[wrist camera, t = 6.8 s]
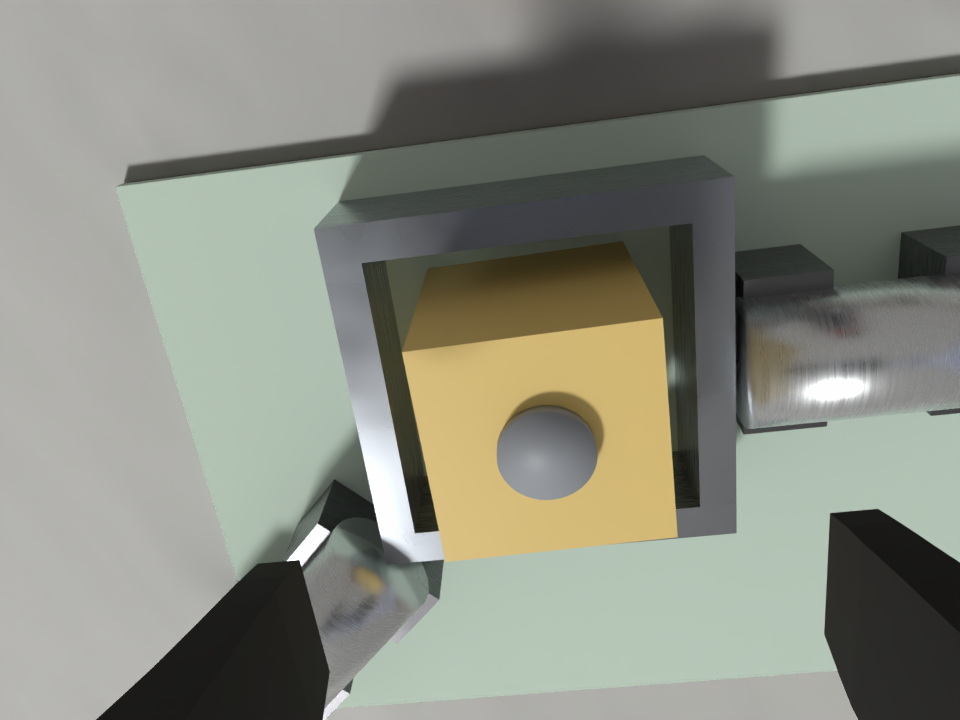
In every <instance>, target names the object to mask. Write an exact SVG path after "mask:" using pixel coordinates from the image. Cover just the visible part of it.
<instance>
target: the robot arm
mask: <svg viewBox="0 0 960 720" xmlns="http://www.w3.org/2000/svg"><path fill="white" fill-rule="evenodd" d="M824 635H825V638H826V641H827V643H828V646H829V649H830V651H831V654H832V657H833V660H834V662H835V665H836V668H837V670H838V673H839V676H840V678H841V681H842V683H843V686H844V688H845V691H846V693H847V696H848V698H849V701H850V703H851V706H852V708H853V710H854V712H855V714H856V716H857V718H858V720H960V562H959V561H957V560H955V559H954V558H952V557H951V556H949V555H948V554H946V553H945V552H943V551H942V550H940V549H939V548H937V547H936V546H934V545H933V544H931V543H930V542H928V541H927V540H926V539H924V538H923V537H921V536H920V535H918V534H917V533H915V532H914V531H912V530H911V529H909V528H907V527H906V526H904V525H903V524H901V523H900V522H898V521H897V520H895V519H894V518H892V517H891V516H889V515H887V514H886V513H884V512H882V511H881V510H879V509H870V510H858V511H847V512H836V513H830V523H829V544H828V565H827V585H826V606H825V627H824ZM329 674H330V671H329V667H328V663H327V660H326V656H325V652H324V648H323V645H322V641H321V637H320V634H319V630H318V626H317V622H316V619H315V615H314V611H313V608H312V604H311V600H310V596H309V593H308V589H307V585H306V582H305V578H304V574H303V571H302V567H301V563H300V560H293V561H282V562H270V563H259V564H257V565H256V566H255V567H253V568H252V569H251V570H250V571H249V572H248V573H247V574H246V575H245V576H244V577H243V578H242V579H241V580H240V581H239V582H238V583H237V584H236V585H235V586H234V587H233V588H232V589H231V590H230V591H229V592H228V593H227V594H226V595H225V596H224V597H223V598H222V599H221V600H220V601H219V602H218V603H217V604H216V605H215V606H214V607H213V608H212V609H211V610H210V611H209V612H208V613H207V614H206V615H205V616H204V617H203V618H202V619H201V620H200V621H199V622H198V623H197V624H196V625H195V626H194V627H193V628H192V629H191V630H190V631H189V632H188V633H187V634H186V635H185V636H184V637H183V638H182V639H181V640H180V641H179V642H178V643H177V644H176V645H175V646H174V647H173V648H172V649H171V650H170V651H169V652H168V653H167V654H166V655H165V656H164V657H163V658H162V659H161V660H160V661H159V662H158V663H157V664H156V665H155V666H154V667H153V668H152V669H151V670H150V671H149V672H148V673H147V674H146V675H144V676H143V677H142V678H141V679H140V680H139V681H138V682H137V683H136V684H135V685H134V686H132V687H131V688H130V689H129V690H128V691H127V692H126V693H125V694H124V695H123V696H122V697H121V698H119V699H118V700H117V701H116V702H115V703H114V704H113V705H112V706H111V707H110V708H109V709H107V710H106V711H105V712H104V713H103V714H102V715H101V716H100V717H99V718H98V719H97V720H323V714H324V708H325V701H326V695H327V688H328V681H329Z"/></svg>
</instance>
